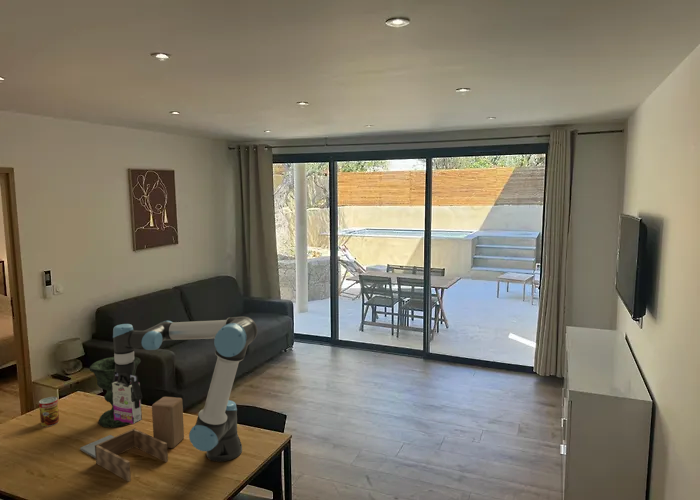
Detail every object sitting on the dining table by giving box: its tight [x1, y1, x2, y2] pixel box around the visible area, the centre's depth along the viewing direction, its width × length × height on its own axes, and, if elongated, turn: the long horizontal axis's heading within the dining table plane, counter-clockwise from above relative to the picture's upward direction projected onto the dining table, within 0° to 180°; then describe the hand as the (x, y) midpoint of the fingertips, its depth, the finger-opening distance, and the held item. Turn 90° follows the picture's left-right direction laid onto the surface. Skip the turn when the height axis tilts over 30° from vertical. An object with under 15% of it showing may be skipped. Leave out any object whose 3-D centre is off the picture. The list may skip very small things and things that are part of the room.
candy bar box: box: [112, 381, 143, 425], centre depth 204 cm, size 11×5×16 cm, turn 68°
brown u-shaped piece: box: [95, 428, 169, 482], centre depth 206 cm, size 24×18×8 cm
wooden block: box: [151, 396, 185, 449], centre depth 221 cm, size 10×10×20 cm
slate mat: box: [79, 434, 115, 459], centre depth 218 cm, size 14×14×1 cm
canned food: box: [38, 396, 60, 428], centre depth 242 cm, size 8×8×12 cm
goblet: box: [89, 356, 142, 428], centre depth 244 cm, size 22×22×30 cm
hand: (127, 411), depth 204 cm, fingers closed on candy bar box, 12 cm apart
